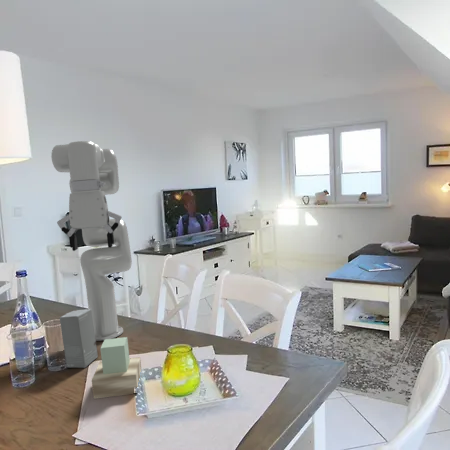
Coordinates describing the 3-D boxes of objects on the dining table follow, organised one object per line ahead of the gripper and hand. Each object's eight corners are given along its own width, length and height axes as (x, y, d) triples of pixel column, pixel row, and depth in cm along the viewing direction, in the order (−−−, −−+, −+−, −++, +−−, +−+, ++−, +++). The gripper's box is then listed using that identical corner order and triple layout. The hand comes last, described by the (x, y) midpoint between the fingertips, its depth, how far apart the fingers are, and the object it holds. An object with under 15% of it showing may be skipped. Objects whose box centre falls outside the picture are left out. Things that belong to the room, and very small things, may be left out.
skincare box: (85, 368, 125) (79, 316, 124) (63, 368, 127) (57, 317, 125) (99, 356, 133) (93, 307, 132) (79, 356, 135) (73, 308, 133)
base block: (102, 378, 117) (100, 361, 117) (141, 374, 118) (140, 356, 118) (93, 398, 107) (91, 379, 106) (137, 393, 108) (135, 374, 107)
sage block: (107, 364, 115) (104, 339, 114) (129, 361, 115) (127, 337, 115) (103, 374, 109) (100, 348, 108) (126, 371, 109) (124, 345, 109)
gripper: (119, 184, 121) (126, 243, 123) (57, 189, 119) (64, 249, 121) (115, 184, 113) (122, 247, 115) (49, 190, 112) (57, 253, 114)
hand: (92, 248), depth 118 cm, fingers open, 9 cm apart
